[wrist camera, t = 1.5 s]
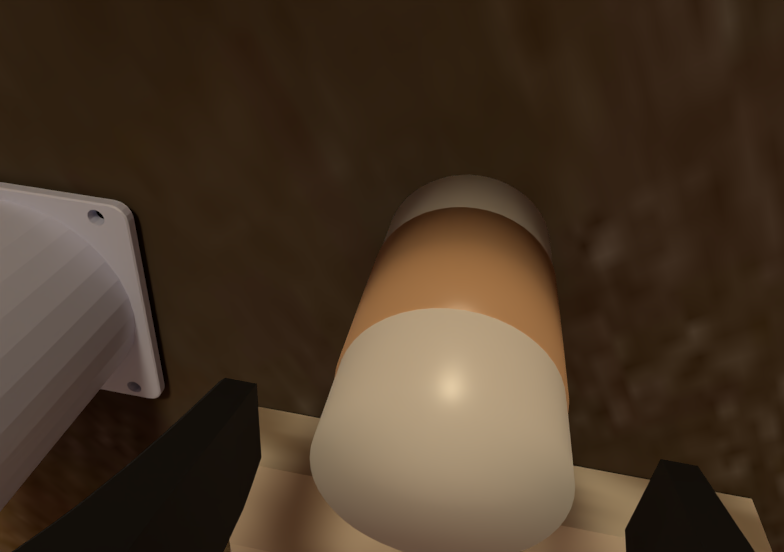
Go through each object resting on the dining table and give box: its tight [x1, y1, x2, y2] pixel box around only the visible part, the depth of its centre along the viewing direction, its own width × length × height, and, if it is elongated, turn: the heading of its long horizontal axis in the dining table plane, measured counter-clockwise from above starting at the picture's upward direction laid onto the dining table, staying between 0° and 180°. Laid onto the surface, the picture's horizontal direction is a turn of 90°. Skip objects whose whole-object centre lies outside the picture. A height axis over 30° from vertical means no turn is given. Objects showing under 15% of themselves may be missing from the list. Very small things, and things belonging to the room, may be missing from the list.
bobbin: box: [310, 175, 575, 552], centre depth 14 cm, size 5×5×8 cm
